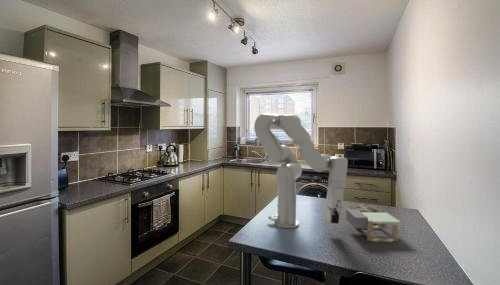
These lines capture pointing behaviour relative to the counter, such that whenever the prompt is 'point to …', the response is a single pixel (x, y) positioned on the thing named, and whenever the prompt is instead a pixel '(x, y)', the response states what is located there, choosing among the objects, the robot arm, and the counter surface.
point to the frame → (371, 227)
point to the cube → (329, 215)
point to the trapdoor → (368, 218)
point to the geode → (364, 208)
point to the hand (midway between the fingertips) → (332, 220)
